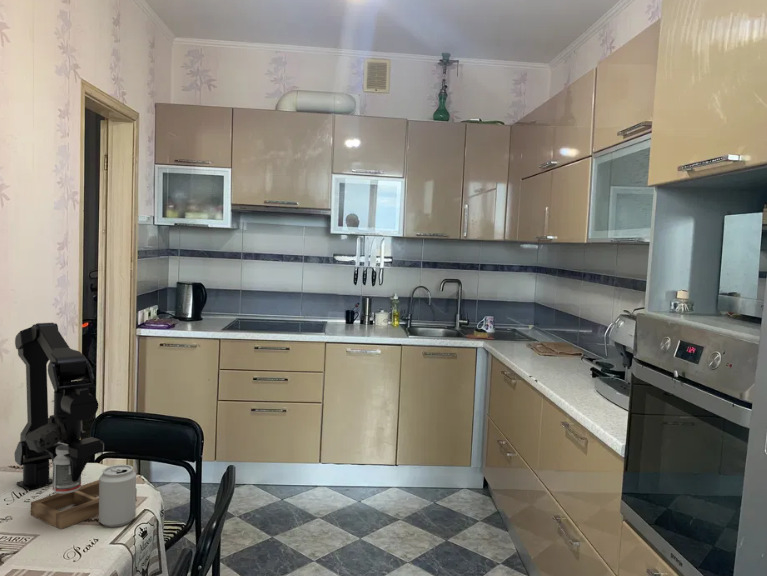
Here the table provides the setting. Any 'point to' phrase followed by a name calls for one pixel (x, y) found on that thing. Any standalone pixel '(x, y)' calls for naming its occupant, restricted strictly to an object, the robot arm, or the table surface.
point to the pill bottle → (63, 473)
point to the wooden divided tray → (82, 498)
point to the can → (117, 495)
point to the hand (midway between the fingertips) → (67, 478)
